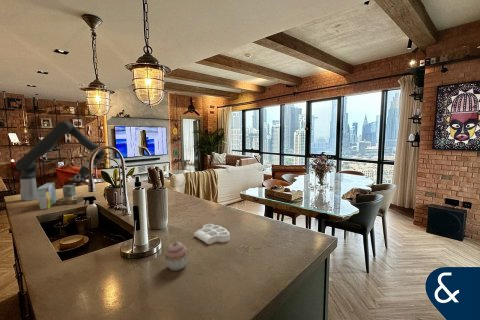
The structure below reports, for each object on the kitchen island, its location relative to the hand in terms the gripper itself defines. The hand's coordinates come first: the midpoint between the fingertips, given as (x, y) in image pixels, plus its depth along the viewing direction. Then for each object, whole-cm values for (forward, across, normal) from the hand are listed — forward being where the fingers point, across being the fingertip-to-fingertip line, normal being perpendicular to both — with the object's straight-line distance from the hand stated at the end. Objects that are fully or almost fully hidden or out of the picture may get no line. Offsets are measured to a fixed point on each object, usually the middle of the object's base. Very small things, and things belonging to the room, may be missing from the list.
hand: (73, 185), depth 179 cm
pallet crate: (+9, 0, +5) cm, 10 cm away
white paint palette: (+15, +132, +3) cm, 133 cm away
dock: (+11, 0, +7) cm, 13 cm away
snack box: (+19, -8, -1) cm, 20 cm away
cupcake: (+35, +134, -17) cm, 140 cm away
